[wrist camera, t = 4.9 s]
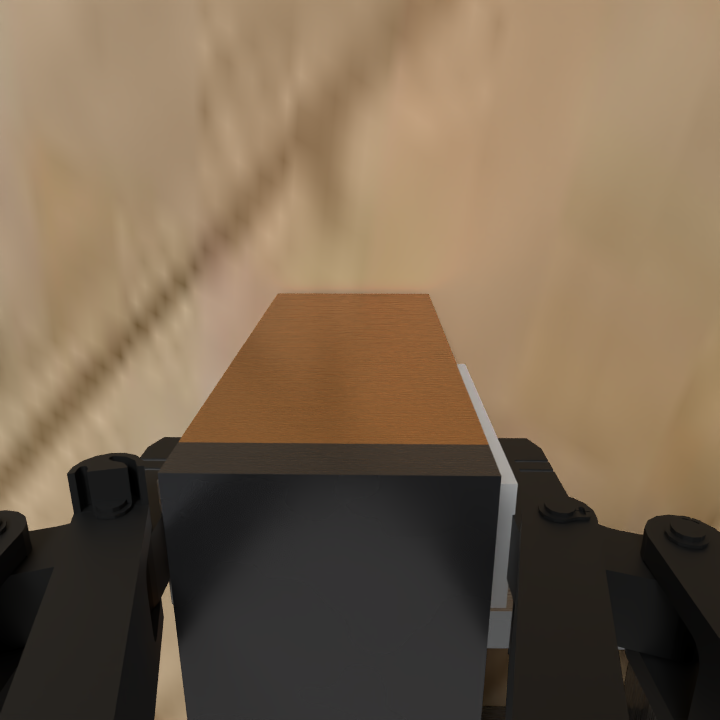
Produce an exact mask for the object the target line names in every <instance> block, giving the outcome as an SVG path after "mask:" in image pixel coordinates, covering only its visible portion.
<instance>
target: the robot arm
mask: <svg viewBox="0 0 720 720" xmlns="http://www.w3.org/2000/svg"><path fill="white" fill-rule="evenodd" d="M457 366H458V369H459V371H460V374H461V376H462V379H463V381H464V384H465V386H466V389H467V391H468V394H469V396H470V399H471V401H472V404H473V406H474V409H475V411H476V414H477V416H478V419H479V421H480V424H481V426H482V429H483V431H484V434H485V436H486V439H487V441H488V444H489V446H490V449H491V451H492V454H493V456H494V459H495V461H496V464H497V466H498V469H499V471H500V474H501V487H500V499H499V511H498V523H497V535H496V547H495V559H494V571H493V583H492V595H491V607H490V608H506V604H507V594H508V585H509V588H510V592H511V595H512V598H513V607H512V618H511V628H510V638H509V648H508V654H509V665H508V682H507V698H506V715H505V720H629V715H628V709H627V702H626V696H625V690H624V683H623V677H622V671H621V665H620V658H619V652H618V647H622V648H625V653H626V657H627V659H628V661H629V663H630V665H631V667H632V669H633V671H634V673H635V675H636V677H637V679H638V681H639V683H640V685H641V687H642V689H643V691H644V693H645V696H646V698H647V700H648V702H649V704H650V706H651V708H652V710H653V712H654V714H655V716H656V718H657V720H720V532H719V531H717V530H716V529H715V528H713V527H711V526H709V525H707V524H705V523H703V522H701V521H699V520H697V519H694V518H692V519H691V518H690V517H686V516H675V515H663V516H656V517H654V518H652V519H650V520H648V521H647V523H646V525H645V528H644V534H643V535H640V534H635V533H630V532H624V531H619V530H615V529H611V528H607V527H604V526H602V525H599V524H598V520H597V517H596V515H595V513H594V511H593V510H592V509H591V508H590V507H588V506H587V505H586V504H585V503H583V502H581V501H578V500H576V499H574V498H571V497H568V495H567V493H566V491H565V490H564V488H563V486H562V484H561V483H560V481H559V479H558V477H557V476H556V474H555V472H553V469H552V467H551V465H550V463H549V462H548V460H547V458H546V456H545V455H544V453H543V451H542V449H541V448H540V447H538V446H537V445H535V444H534V443H532V442H531V441H529V440H528V439H527V438H497V436H496V433H495V431H494V429H493V427H492V424H491V422H490V420H489V417H488V415H487V413H486V411H485V408H484V406H483V404H482V401H481V399H480V397H479V395H478V392H477V390H476V388H475V386H474V383H473V381H472V379H471V376H470V374H469V372H468V370H467V367H466V365H465V364H457ZM180 439H181V437H164V438H162V439H161V440H159V441H157V442H156V443H154V444H152V445H151V446H149V447H148V448H147V449H146V450H145V452H144V453H143V454H142V456H141V457H140V458H139V457H138V456H136V455H132V454H127V453H110V454H104V455H99V456H95V457H92V458H89V459H87V460H84V461H82V462H80V463H79V464H77V465H75V466H74V467H72V469H71V470H70V471H69V472H68V473H67V476H68V482H69V488H70V493H71V499H72V505H73V510H74V515H73V518H72V520H71V523H70V524H66V525H62V526H57V527H51V528H46V529H40V530H34V531H28V526H27V521H26V517H25V516H24V515H22V514H21V513H19V512H15V511H7V510H4V511H0V720H154V716H155V706H156V695H157V684H158V673H159V663H160V652H161V641H162V630H163V619H164V616H163V608H162V601H161V597H162V595H163V593H164V590H165V588H166V586H167V584H168V582H169V583H170V592H171V600H172V604H173V597H172V589H171V580H170V572H169V564H168V556H167V547H166V539H165V531H164V523H163V515H162V506H161V498H160V490H159V482H158V474H157V473H158V471H159V470H160V468H161V467H162V466H163V464H164V463H165V461H166V460H167V458H168V457H169V455H170V454H171V452H172V451H173V449H174V448H175V446H176V445H177V443H178V442H179V440H180Z"/></svg>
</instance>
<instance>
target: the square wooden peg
mask: <svg viewBox="0 0 720 720" xmlns="http://www.w3.org/2000/svg"><path fill="white" fill-rule="evenodd" d="M157 474H158V482H159V490H160V498H161V506H162V515H163V523H164V531H165V539H166V547H167V556H168V564H169V572H170V580H171V589H172V597H173V605H174V613H175V621H176V630H177V638H178V646H179V654H180V662H181V671H182V679H183V687H184V695H185V703H186V712H187V720H481V714H482V702H483V690H484V678H485V666H486V654H487V643H488V631H489V619H490V607H491V595H492V583H493V571H494V559H495V547H496V535H497V523H498V511H499V499H500V487H501V474H500V471H499V469H498V466H497V464H496V461H495V459H494V456H493V454H492V451H491V449H490V446H489V444H488V441H487V439H486V436H485V434H484V431H483V429H482V426H481V424H480V421H479V419H478V416H477V414H476V411H475V409H474V406H473V404H472V401H471V399H470V396H469V394H468V391H467V389H466V386H465V384H464V381H463V379H462V376H461V374H460V371H459V369H458V366H457V364H456V361H455V359H454V356H453V354H452V351H451V349H450V346H449V344H448V341H447V339H446V336H445V334H444V331H443V329H442V326H441V324H440V321H439V319H438V316H437V314H436V311H435V309H434V306H433V304H432V301H431V299H430V296H429V294H277V296H276V297H275V299H274V300H273V302H272V303H271V305H270V306H269V308H268V309H267V311H266V312H265V314H264V315H263V317H262V318H261V320H260V321H259V323H258V324H257V326H256V327H255V329H254V330H253V332H252V333H251V335H250V336H249V338H248V339H247V341H246V342H245V343H244V345H243V346H242V348H241V349H240V351H239V352H238V354H237V355H236V357H235V358H234V360H233V361H232V363H231V364H230V366H229V367H228V369H227V370H226V372H225V373H224V375H223V376H222V378H221V379H220V381H219V382H218V384H217V385H216V387H215V388H214V390H213V391H212V393H211V394H210V396H209V397H208V399H207V400H206V402H205V403H204V405H203V406H202V407H201V409H200V410H199V412H198V413H197V415H196V416H195V418H194V419H193V421H192V422H191V424H190V425H189V427H188V428H187V430H186V431H185V433H184V434H183V436H182V437H181V439H180V440H179V442H178V443H177V445H176V446H175V448H174V449H173V451H172V452H171V454H170V455H169V457H168V458H167V460H166V461H165V463H164V464H163V466H162V467H161V468H160V470H159V471H158V473H157Z"/></svg>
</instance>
